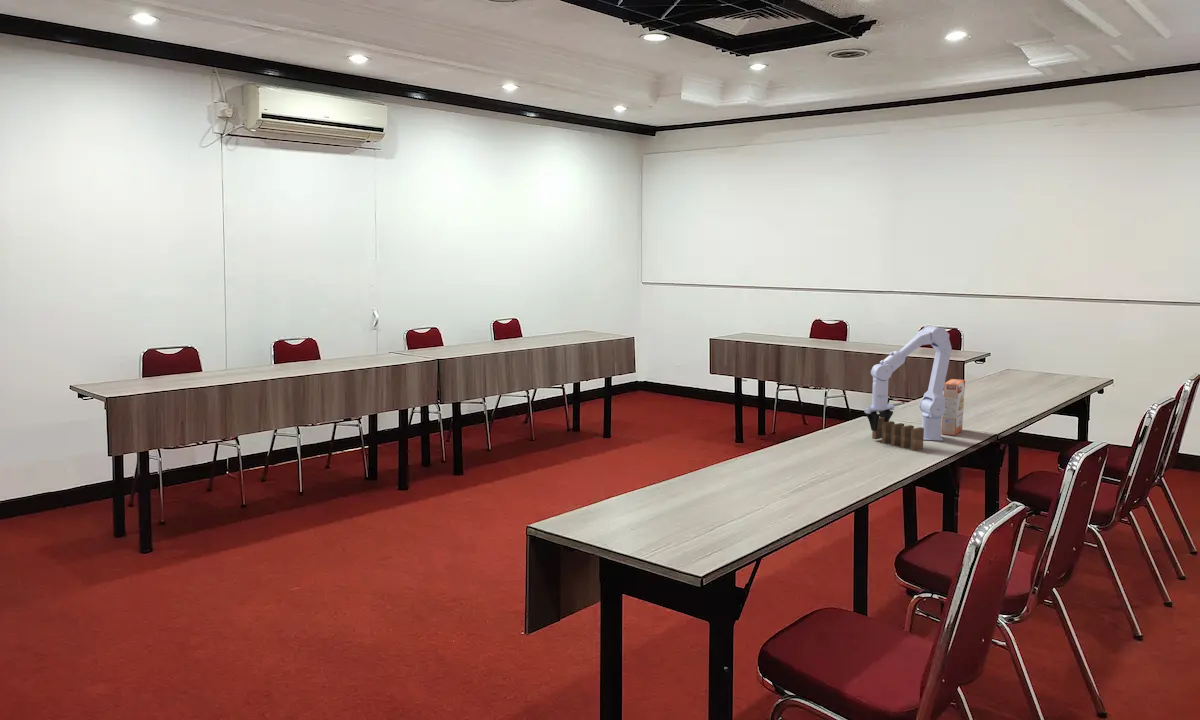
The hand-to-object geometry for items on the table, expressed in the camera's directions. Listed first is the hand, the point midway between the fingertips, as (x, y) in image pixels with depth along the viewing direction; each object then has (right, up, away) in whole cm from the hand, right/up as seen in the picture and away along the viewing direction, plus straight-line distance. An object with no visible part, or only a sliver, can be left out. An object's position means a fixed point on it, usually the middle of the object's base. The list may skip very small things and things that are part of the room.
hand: (878, 429), depth 330 cm
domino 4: (+7, -6, -11) cm, 14 cm away
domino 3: (+5, -5, -7) cm, 10 cm away
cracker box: (+34, -2, +14) cm, 37 cm away
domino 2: (+2, -5, -3) cm, 6 cm away
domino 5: (+9, -6, -15) cm, 18 cm away
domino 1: (0, -3, +1) cm, 3 cm away
